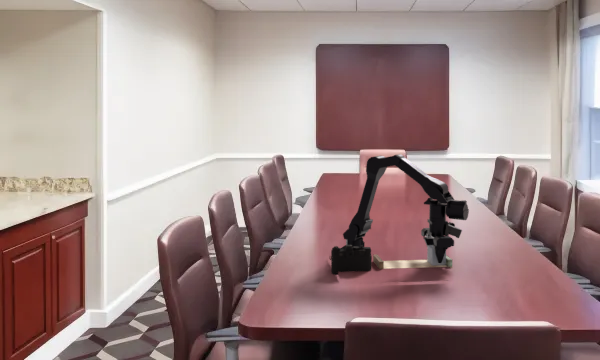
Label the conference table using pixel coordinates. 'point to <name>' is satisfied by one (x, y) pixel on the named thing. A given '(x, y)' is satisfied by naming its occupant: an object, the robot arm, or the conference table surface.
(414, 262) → the track
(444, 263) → the block
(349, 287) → the conference table surface
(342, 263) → the camera
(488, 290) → the conference table surface
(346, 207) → the conference table surface
